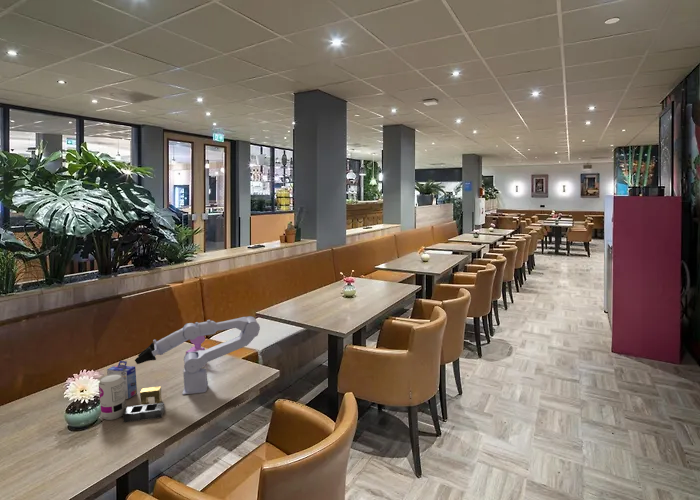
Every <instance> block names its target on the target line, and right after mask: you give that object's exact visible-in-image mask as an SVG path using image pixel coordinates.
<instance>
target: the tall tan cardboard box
mask: <svg viewBox="0 0 700 500" xmlns="http://www.w3.org/2000/svg"><path fill="white" fill-rule="evenodd" d="M139 396H140V397H139V398H140V405H145V404H149V398H154V403H162V386H161V385H160V386H159V385H158V386H151V387H144V388H141V390H140V392H139Z"/></svg>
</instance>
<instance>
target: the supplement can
mask: <svg viewBox="0 0 700 500" xmlns="http://www.w3.org/2000/svg"><path fill="white" fill-rule="evenodd" d="M98 392H99V404H100V405H99V406H100V415H101V418H102V419H104V420H105V421H106V420H107V421H113V420H117V419H119V418H121V417H123V414H124V412H125V410H126V408H127V406H126V399H125V390H124V379H123V377H122V376H121V375H120V374H111V375H105V376H103V377H100V381H99V382H98Z"/></svg>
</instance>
